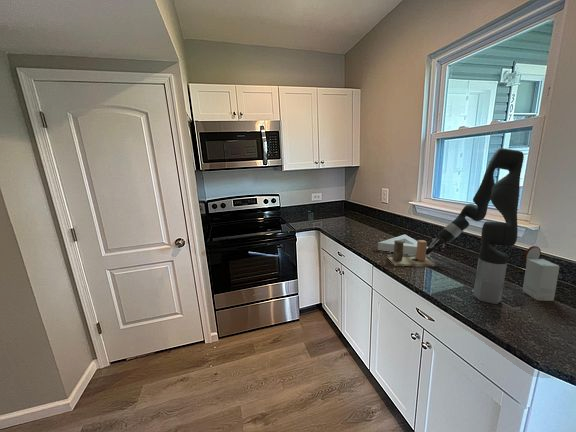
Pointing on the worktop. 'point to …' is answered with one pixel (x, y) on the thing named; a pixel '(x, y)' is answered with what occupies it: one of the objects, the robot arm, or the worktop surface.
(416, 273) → the worktop surface
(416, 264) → the board
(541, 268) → the skincare box
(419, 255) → the block
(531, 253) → the magnifying glass
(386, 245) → the triangle block
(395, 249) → the fixed leg
